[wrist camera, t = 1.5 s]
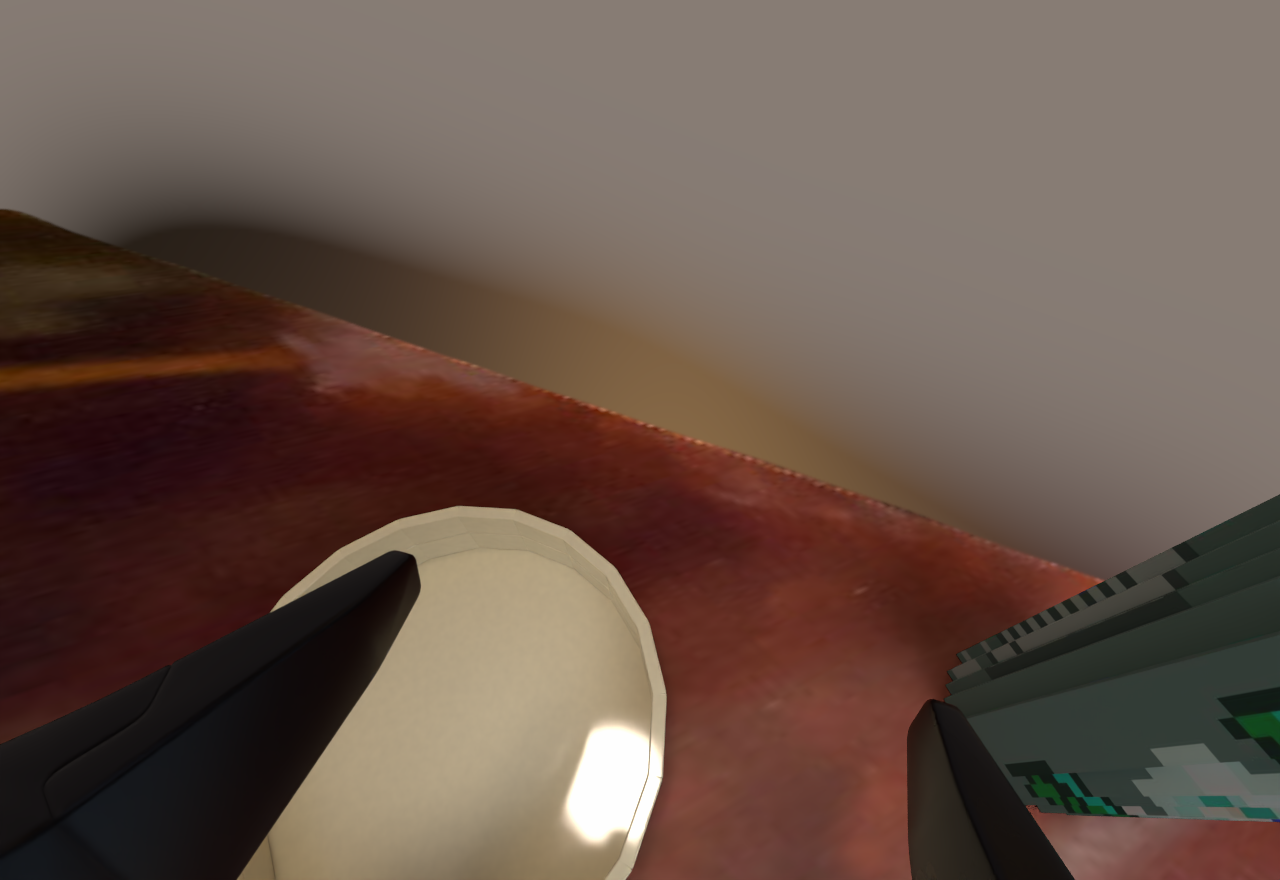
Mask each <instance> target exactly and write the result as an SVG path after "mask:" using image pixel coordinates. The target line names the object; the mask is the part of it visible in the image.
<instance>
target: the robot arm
mask: <svg viewBox="0 0 1280 880" xmlns="http://www.w3.org/2000/svg"><path fill="white" fill-rule="evenodd" d="M420 591H421V581H420V576H419V571H418V566H417V561H416V558H415V557H414V556H413V555H412V554H409V553H405V552H402V551H398V550H393V551H389V552H387V553H385V554H383V555H381V556H379V557H377V558H375V559H373V560H371V561H369V562H368V563H366V564H364V565H362V566H360V567H358V568H356V569H354V570H352V571H350V572H348V573H346V574H344V575H342V576H340V577H338V578H336V579H334V580H333V581H331V582H329V583H327V584H325V585H323V586H321V587H319V588H317V589H315V590H313V591H311V592H309V593H307V594H305V595H303V596H301V597H300V598H298V599H296V600H294V601H292V602H290V603H288V604H286V605H284V606H282V607H280V608H278V609H276V610H274V611H272V612H270V613H268V614H267V615H265V616H263V617H261V618H259V619H257V620H255V621H253V622H251V623H249V624H247V625H245V626H243V627H241V628H239V629H237V630H235V631H234V632H232V633H230V634H228V635H226V636H224V637H222V638H220V639H218V640H216V641H214V642H212V643H210V644H208V645H206V646H204V647H202V648H201V649H199V650H197V651H195V652H193V653H191V654H189V655H187V656H185V657H183V658H181V659H179V660H177V661H175V662H174V663H173V664H172V666H171V665H168V666H165V667H163V668H161V669H159V670H157V671H156V672H154V673H152V674H150V675H148V676H146V677H144V678H142V679H140V680H138V681H136V682H134V683H132V684H130V685H128V686H126V687H124V688H122V689H120V690H118V691H116V692H114V693H112V694H110V695H108V696H106V697H104V698H102V699H100V700H98V701H95V702H93V703H91V704H89V705H87V706H85V707H82V708H80V709H78V710H76V711H74V712H72V713H69V714H67V715H65V716H63V717H61V718H59V719H56V720H54V721H52V722H50V723H48V724H45V725H43V726H41V727H39V728H36V729H34V730H32V731H30V732H27V733H25V734H23V735H21V736H18V737H16V738H14V739H12V740H9V741H7V742H5V743H3V744H0V880H237V879H238V878H239V876H240V875H241V873H242V872H243V870H244V869H245V867H246V866H247V864H248V863H249V861H250V860H251V858H252V857H253V855H254V854H255V852H256V851H257V850H258V848H259V847H260V845H261V844H262V842H263V841H264V839H265V838H266V836H267V835H268V833H269V832H270V830H271V829H272V827H273V826H274V824H275V823H276V821H277V820H278V819H279V817H280V816H281V814H282V813H283V811H284V810H285V808H286V807H287V805H288V804H289V802H290V801H291V799H292V798H293V796H294V795H295V793H296V792H297V790H298V789H299V788H300V786H301V785H302V783H303V782H304V780H305V779H306V777H307V776H308V774H309V773H310V771H311V770H312V768H313V767H314V765H315V764H316V762H317V761H318V759H319V758H320V757H321V755H322V754H323V752H324V751H325V749H326V748H327V746H328V745H329V743H330V742H331V740H332V739H333V737H334V736H335V734H336V733H337V731H338V730H339V729H340V727H341V726H342V724H343V723H344V721H345V720H346V718H347V717H348V715H349V714H350V712H351V711H352V709H353V708H354V706H355V705H356V703H357V702H358V700H359V699H360V698H361V696H362V695H363V693H364V692H365V690H366V689H367V687H368V686H369V684H370V683H371V681H372V680H373V678H374V677H375V675H376V673H377V672H378V670H379V668H380V667H381V665H382V663H383V661H384V660H385V658H386V656H387V654H388V652H389V651H390V649H391V647H392V645H393V643H394V641H395V639H396V638H397V636H398V634H399V632H400V630H401V628H402V627H403V625H404V623H405V621H406V619H407V617H408V615H409V614H410V612H411V610H412V608H413V606H414V604H415V603H416V601H417V599H418V597H419V594H420ZM907 787H908V844H909V855H910V865H911V874H912V880H1075V879H1074V878H1073V876H1072V875H1071V873H1070V872H1069V870H1068V869H1067V867H1066V866H1065V864H1064V863H1063V861H1062V860H1061V858H1060V857H1059V855H1058V854H1057V852H1056V851H1055V849H1054V848H1053V846H1052V845H1051V843H1050V842H1049V840H1048V839H1047V837H1046V836H1045V834H1044V833H1043V832H1042V830H1041V829H1040V827H1039V826H1038V824H1037V823H1036V821H1035V820H1034V818H1033V817H1032V815H1031V814H1030V812H1029V811H1028V809H1027V808H1026V806H1025V805H1024V803H1023V802H1022V800H1021V799H1020V797H1019V796H1018V794H1017V793H1016V791H1015V790H1014V788H1013V787H1012V785H1011V784H1010V782H1009V781H1008V779H1007V778H1006V777H1005V775H1004V774H1003V772H1002V771H1001V769H1000V768H999V766H998V765H997V763H996V762H995V760H994V759H993V757H992V756H991V754H990V753H989V751H988V750H987V748H986V747H985V745H984V744H983V742H982V741H981V739H980V738H979V736H978V735H977V733H976V732H975V730H974V729H973V727H972V726H971V724H970V723H969V722H968V720H967V719H966V717H965V716H964V714H963V713H962V711H961V710H960V709H959V708H958V707H956V706H954V705H952V704H949V703H945V702H942V701H938V700H934V699H930V700H928V701H926V702H925V704H924V705H923V707H922V708H921V710H920V711H919V713H918V714H917V716H916V717H915V719H914V720H913V722H912V723H911V725H910V727H909V730H908V736H907Z"/></svg>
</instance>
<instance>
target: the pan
mask: <svg viewBox="0 0 1280 880" xmlns="http://www.w3.org/2000/svg"><path fill="white" fill-rule="evenodd" d="M393 550H398V551H402V552H405V553H409V554H412V555H413V556H414V557H415V558H416V561H417V566H418V571H419V576H420V581H421V591H420V594H419V597H418V599H417V601H416V603H415V604H414V606H413V608H412V610H411V612H410V614H409V615H408V617H407V619H406V621H405V623H404V625H403V627H402V628H401V630H400V632H399V634H398V636H397V638H396V639H395V641H394V643H393V645H392V647H391V649H390V651H389V652H388V654H387V656H386V658H385V660H384V661H383V663H382V665H381V667H380V668H379V670H378V672H377V673H376V675H375V677H374V678H373V680H372V681H371V683H370V684H369V686H368V687H367V689H366V690H365V692H364V693H363V695H362V696H361V698H360V699H359V700H358V702H357V703H356V705H355V706H354V708H353V709H352V711H351V712H350V714H349V715H348V717H347V718H346V720H345V721H344V723H343V724H342V726H341V727H340V729H339V730H338V731H337V733H336V734H335V736H334V737H333V739H332V740H331V742H330V743H329V745H328V746H327V748H326V749H325V751H324V752H323V754H322V755H321V757H320V758H319V759H318V761H317V762H316V764H315V765H314V767H313V768H312V770H311V771H310V773H309V774H308V776H307V777H306V779H305V780H304V782H303V783H302V785H301V786H300V788H299V789H298V790H297V792H296V793H295V795H294V796H293V798H292V799H291V801H290V802H289V804H288V805H287V807H286V808H285V810H284V811H283V813H282V814H281V816H280V817H279V819H278V820H277V821H276V823H275V824H274V826H273V827H272V829H271V830H270V832H269V833H268V835H267V836H266V838H265V839H264V841H263V842H262V844H261V845H260V847H259V848H258V850H257V851H256V852H255V854H254V855H253V857H252V858H251V860H250V861H249V863H248V864H247V866H246V867H245V869H244V870H243V872H242V873H241V875H240V876H239V878H238V879H237V880H626V879H627V877H628V876H629V874H630V873H631V871H632V868H633V867H634V864H635V862H636V859H637V857H638V854H639V850H640V847H641V844H642V841H643V838H644V835H645V832H646V829H647V826H648V823H649V820H650V817H651V814H652V811H653V808H654V805H655V802H656V799H657V796H658V793H659V790H660V787H661V784H662V780H663V766H664V745H665V724H666V703H667V695H666V688H665V684H664V680H663V676H662V672H661V668H660V664H659V660H658V656H657V652H656V647H655V643H654V639H653V635H652V631H651V627H650V624H649V621H648V619H647V618H646V616H645V615H644V613H643V611H642V610H641V608H640V606H639V605H638V603H637V602H636V600H635V598H634V597H633V595H632V593H631V592H630V590H629V589H628V587H627V585H626V584H625V582H624V580H623V579H622V577H621V575H620V574H619V572H618V571H617V569H616V568H615V567H614V566H613V565H612V564H611V563H610V562H608V561H607V560H606V559H605V558H604V557H602V556H601V555H600V554H599V553H598V552H596V551H595V550H594V549H593V548H591V547H590V546H589V545H588V544H587V543H585V542H584V541H583V540H582V539H581V538H579V537H578V536H577V535H576V534H575V533H573V532H572V531H571V530H569V529H567V528H564V527H562V526H559V525H556V524H554V523H551V522H549V521H546V520H543V519H541V518H538V517H536V516H533V515H530V514H528V513H525V512H522V511H520V510H516V509H503V508H486V507H470V506H456V507H451V508H447V509H442V510H438V511H433V512H429V513H424V514H420V515H415V516H411V517H406V518H402V519H399V520H396V521H394V522H392V523H390V524H388V525H386V526H384V527H382V528H380V529H378V530H376V531H374V532H372V533H370V534H368V535H366V536H364V537H362V538H360V539H358V540H356V541H354V542H352V543H350V544H348V545H346V546H344V547H342V548H340V549H339V550H337V551H336V552H335V553H334V554H332V555H331V556H330V557H329V558H328V559H326V560H325V561H324V562H323V563H322V564H320V565H319V566H318V567H317V568H316V569H314V570H313V571H312V572H311V573H310V574H308V575H307V576H306V577H305V578H304V579H302V580H301V581H300V582H299V583H298V584H296V585H295V586H294V587H293V588H292V589H290V590H289V591H288V592H287V593H286V594H284V597H282V598H281V599H280V600H279V601H278V603H277V604H276V605H275V607H274V608H273V609H272V611H274V610H276V609H278V608H280V607H282V606H284V605H286V604H288V603H290V602H292V601H294V600H296V599H298V598H300V597H301V596H303V595H305V594H307V593H309V592H311V591H313V590H315V589H317V588H319V587H321V586H323V585H325V584H327V583H329V582H331V581H333V580H334V579H336V578H338V577H340V576H342V575H344V574H346V573H348V572H350V571H352V570H354V569H356V568H358V567H360V566H362V565H364V564H366V563H368V562H369V561H371V560H373V559H375V558H377V557H379V556H381V555H383V554H385V553H387V552H389V551H393ZM272 611H271V612H272Z"/></svg>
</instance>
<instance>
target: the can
mask: <svg viewBox="0 0 1280 880" xmlns="http://www.w3.org/2000/svg"><path fill="white" fill-rule="evenodd" d="M956 655H957V656H958V657H959V659H960V660H961V662H962V663H963V664H961V665H959V666H957V667H955V668H953V669H951V670H949V671H947V672H948V674H949V675H950V677H951V678H952V680H953V681H952V682H950V683H948V684H946V687H947V688H948V690H949V691H950V693H951V694H952V695H950V696H948V697H946V698H944V700H945V702H946V703H949V704H952V705H954V706H956V707H958V708H959V709H960V710H961V711H962V713H963V714H964V716H965V717H966V719H967V720H968V722H969V723H970V724H971V726H972V727H973V729H974V730H975V732H976V733H977V735H978V736H979V738H980V739H981V741H982V742H983V744H984V745H985V747H986V748H987V750H988V751H989V753H990V754H991V756H992V757H993V759H994V760H995V762H996V763H997V765H998V766H999V768H1000V769H1001V771H1002V772H1003V774H1004V775H1005V777H1006V778H1007V779H1008V781H1009V782H1010V784H1011V785H1012V787H1013V788H1014V790H1015V791H1016V793H1017V794H1018V796H1019V797H1020V799H1021V800H1022V802H1023V803H1024V805H1037V807H1038V808H1039V810H1040V811H1041V812H1044V813H1066V814H1067V815H1085V816H1115V817H1145V818H1174V819H1204V820H1234V821H1264V822H1280V495H1278V496H1276V497H1274V498H1272V499H1270V500H1268V501H1266V502H1264V503H1262V504H1260V505H1258V506H1256V507H1253V508H1251V509H1249V510H1247V511H1245V512H1243V513H1241V514H1239V515H1237V516H1235V517H1233V518H1231V519H1229V520H1227V521H1225V522H1223V523H1221V524H1219V525H1217V526H1215V527H1213V528H1211V529H1209V530H1207V531H1205V532H1203V533H1201V534H1199V535H1197V536H1195V537H1193V538H1191V539H1189V540H1187V541H1185V542H1183V543H1181V544H1179V545H1177V546H1174V547H1172V548H1170V549H1169V550H1167V551H1165V552H1163V553H1160V554H1158V555H1156V556H1154V557H1152V558H1150V559H1148V560H1146V561H1144V562H1142V563H1140V564H1138V565H1136V566H1134V567H1132V568H1130V569H1128V570H1126V571H1124V572H1122V573H1120V574H1118V575H1116V576H1114V577H1112V578H1110V579H1108V580H1106V581H1104V582H1102V583H1100V584H1098V585H1096V586H1094V587H1091V588H1089V589H1087V590H1085V591H1083V592H1081V593H1079V594H1077V595H1075V596H1073V597H1071V598H1069V599H1067V600H1065V601H1063V602H1061V603H1059V604H1057V605H1055V606H1053V607H1051V608H1049V609H1047V610H1045V611H1043V612H1041V613H1039V614H1037V615H1035V616H1033V617H1031V618H1029V619H1027V620H1025V621H1023V622H1021V623H1019V624H1017V625H1015V626H1013V627H1010V628H1008V629H1006V630H1004V631H1002V632H1000V633H998V634H996V635H994V636H992V637H990V638H988V639H986V640H984V641H982V642H980V643H978V644H976V645H974V646H972V647H970V648H968V649H966V650H964V651H962V652H960V653H958V654H956Z"/></svg>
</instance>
